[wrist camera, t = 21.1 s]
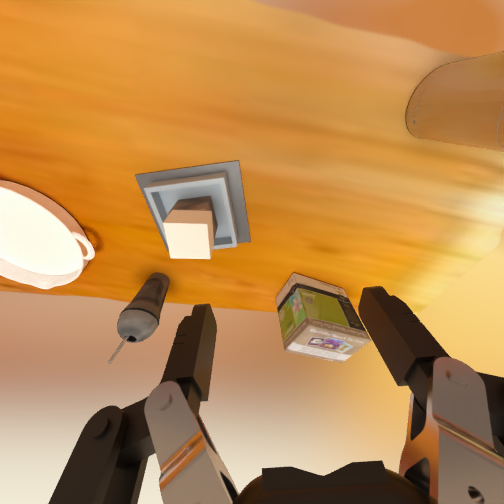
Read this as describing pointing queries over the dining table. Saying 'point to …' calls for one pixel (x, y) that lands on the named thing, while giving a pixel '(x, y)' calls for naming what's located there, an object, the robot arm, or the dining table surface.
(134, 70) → the dining table surface
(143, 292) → the beverage cup
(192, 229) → the cream block
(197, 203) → the walnut block
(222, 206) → the grey shallow box
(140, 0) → the dining table surface
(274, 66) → the dining table surface
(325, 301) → the tea box
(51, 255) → the pan
